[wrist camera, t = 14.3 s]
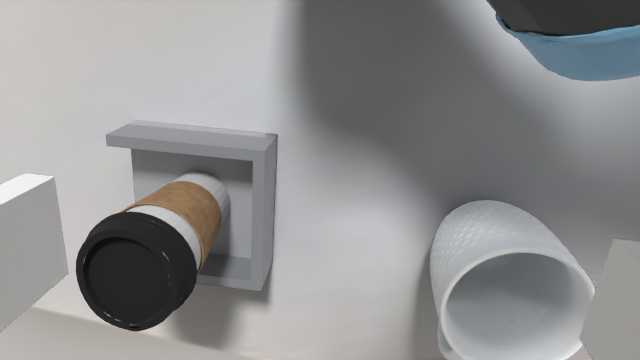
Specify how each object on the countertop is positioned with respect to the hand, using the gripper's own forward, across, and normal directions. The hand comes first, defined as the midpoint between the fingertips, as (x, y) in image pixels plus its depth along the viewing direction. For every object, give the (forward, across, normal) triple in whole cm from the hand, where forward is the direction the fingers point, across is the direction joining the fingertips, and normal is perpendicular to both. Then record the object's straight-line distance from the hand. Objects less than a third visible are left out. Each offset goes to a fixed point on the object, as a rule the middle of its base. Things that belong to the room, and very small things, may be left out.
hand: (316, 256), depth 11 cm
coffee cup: (+30, -14, -13) cm, 36 cm away
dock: (+32, -14, -13) cm, 37 cm away
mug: (+32, +13, -15) cm, 38 cm away
